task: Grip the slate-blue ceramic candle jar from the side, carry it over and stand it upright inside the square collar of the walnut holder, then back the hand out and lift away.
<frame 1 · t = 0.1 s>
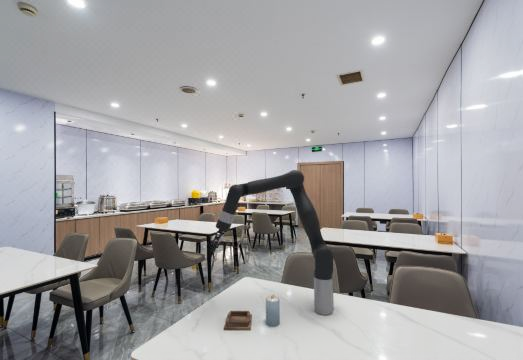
hand: (214, 249, 128), 31 cm above the table, tool tilted 20°, fingers open, 8 cm apart
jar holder: (238, 322, 115), on the table
candle jar: (272, 323, 114), on the table
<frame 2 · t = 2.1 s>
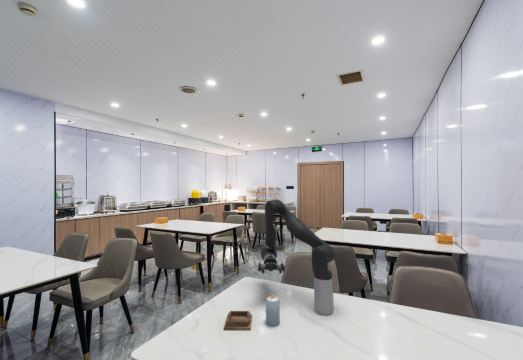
hand: (271, 272, 126), 20 cm above the table, tool horizontal, fingers open, 8 cm apart
nothing on the table moved.
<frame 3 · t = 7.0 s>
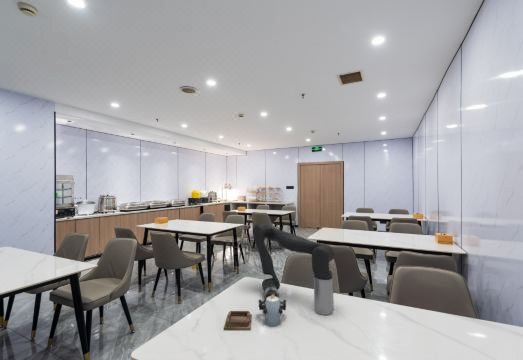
hand: (273, 312, 112), 6 cm above the table, tool horizontal, fingers closed on candle jar, 6 cm apart
candle jar: (272, 322, 114), on the table, touching gripper
when the fingers open (8 cm above the table, at t = 13.7 s): candle jar drops 1 cm, resting on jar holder.
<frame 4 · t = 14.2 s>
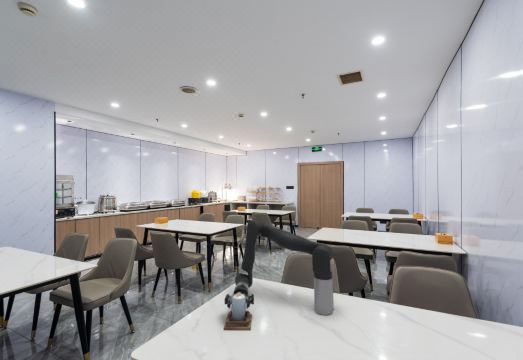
hand: (238, 306, 113), 9 cm above the table, tool horizontal, fingers open, 8 cm apart
candle jar: (238, 320, 115), point 1 cm above the table, touching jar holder
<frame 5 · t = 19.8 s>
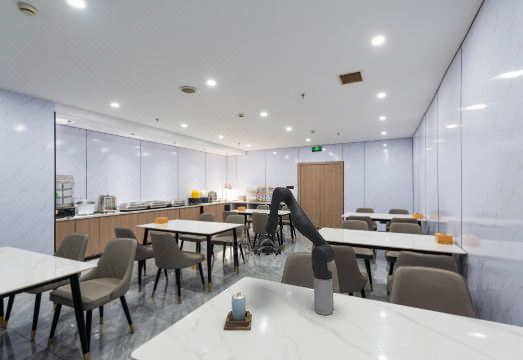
hand: (267, 254, 123), 30 cm above the table, tool horizontal, fingers open, 8 cm apart
nothing on the table moved.
at the end: candle jar 0.1 cm off-centre on the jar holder, point 1.0 cm above the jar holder's base; candle jar tilted 0°; the gripper is holding nothing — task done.
